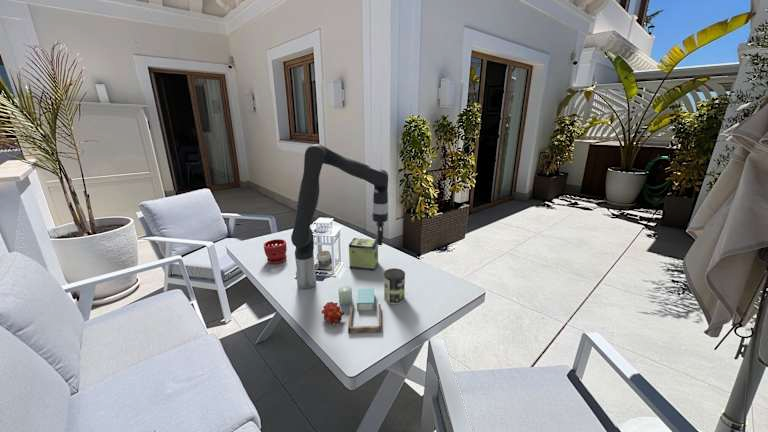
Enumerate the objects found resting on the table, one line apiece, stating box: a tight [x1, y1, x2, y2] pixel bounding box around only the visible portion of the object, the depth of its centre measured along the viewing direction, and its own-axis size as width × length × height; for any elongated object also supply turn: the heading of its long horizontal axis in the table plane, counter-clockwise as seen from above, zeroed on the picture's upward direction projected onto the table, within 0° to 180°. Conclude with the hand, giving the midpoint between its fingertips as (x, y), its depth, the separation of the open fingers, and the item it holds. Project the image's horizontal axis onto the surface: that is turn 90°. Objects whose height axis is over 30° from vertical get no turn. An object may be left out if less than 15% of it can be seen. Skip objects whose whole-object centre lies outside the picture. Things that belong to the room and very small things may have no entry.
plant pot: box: [263, 238, 288, 264], centre depth 185 cm, size 13×13×12 cm
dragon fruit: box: [321, 301, 345, 325], centre depth 133 cm, size 8×8×12 cm
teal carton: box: [356, 287, 375, 311], centre depth 145 cm, size 8×12×4 cm, turn 2°
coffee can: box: [383, 268, 406, 305], centre depth 146 cm, size 10×10×14 cm
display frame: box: [347, 303, 382, 334], centre depth 133 cm, size 14×16×2 cm
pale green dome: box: [337, 285, 353, 307], centre depth 145 cm, size 6×6×7 cm
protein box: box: [348, 237, 379, 271], centre depth 178 cm, size 10×16×16 cm
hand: (379, 241), depth 151 cm, fingers open, 8 cm apart
